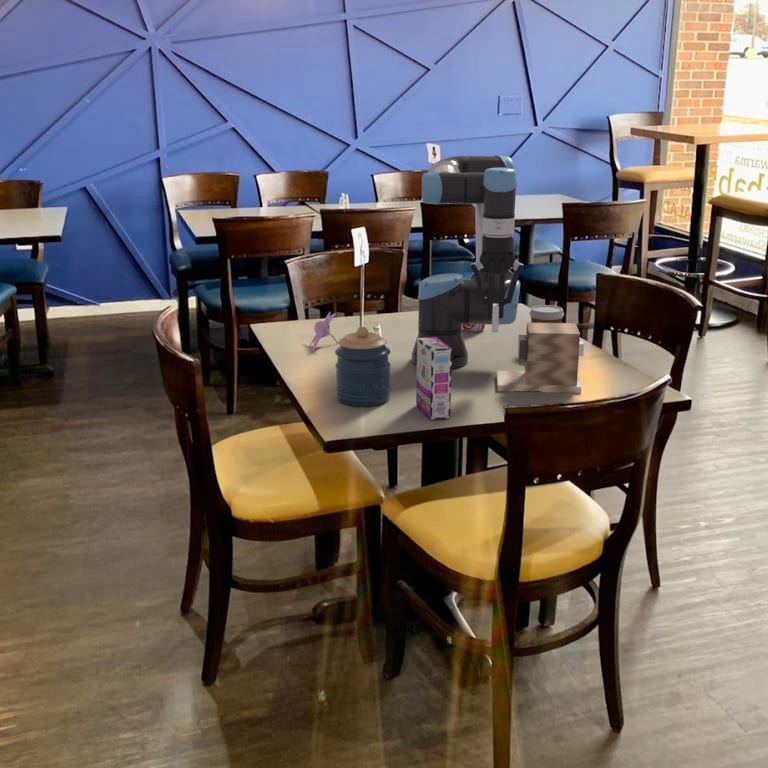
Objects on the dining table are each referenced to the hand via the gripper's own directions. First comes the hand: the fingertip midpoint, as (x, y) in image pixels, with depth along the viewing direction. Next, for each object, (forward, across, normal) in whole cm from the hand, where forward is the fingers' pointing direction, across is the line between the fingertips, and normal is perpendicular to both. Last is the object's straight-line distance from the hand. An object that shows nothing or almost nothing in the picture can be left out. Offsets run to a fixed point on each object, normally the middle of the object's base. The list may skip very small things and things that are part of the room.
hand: (494, 330), depth 225 cm
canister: (+14, -31, -15) cm, 37 cm away
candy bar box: (+13, -14, -23) cm, 30 cm away
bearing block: (+13, +11, -1) cm, 17 cm away
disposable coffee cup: (+14, +15, +30) cm, 37 cm away
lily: (+14, -48, +31) cm, 59 cm away
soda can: (+15, -5, +51) cm, 53 cm away
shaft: (+6, +14, -1) cm, 15 cm away
